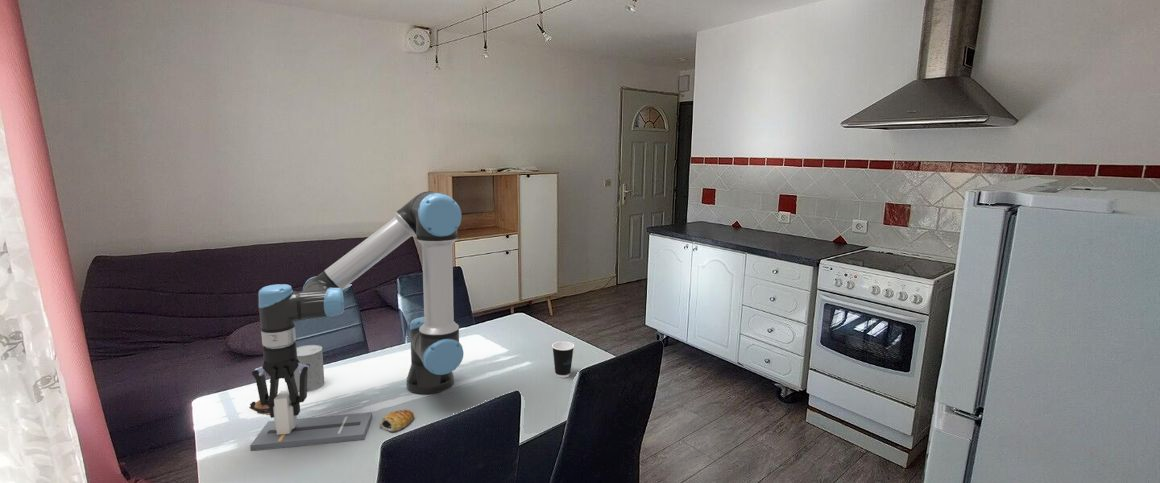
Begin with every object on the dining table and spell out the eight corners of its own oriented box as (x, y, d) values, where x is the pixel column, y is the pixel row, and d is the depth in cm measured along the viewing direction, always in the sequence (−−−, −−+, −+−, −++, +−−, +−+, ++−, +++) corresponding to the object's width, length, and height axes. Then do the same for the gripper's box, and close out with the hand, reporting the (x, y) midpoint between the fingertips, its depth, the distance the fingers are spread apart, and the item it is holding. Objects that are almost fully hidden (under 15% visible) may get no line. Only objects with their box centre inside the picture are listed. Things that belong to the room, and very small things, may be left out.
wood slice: (294, 406, 149) (293, 394, 149) (266, 418, 142) (265, 406, 141) (273, 397, 154) (272, 386, 154) (245, 409, 147) (244, 397, 146)
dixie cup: (554, 369, 178) (555, 340, 176) (576, 371, 176) (576, 342, 175) (548, 378, 170) (549, 348, 169) (571, 380, 169) (571, 350, 167)
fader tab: (295, 423, 135) (293, 389, 133) (289, 433, 130) (286, 398, 128) (283, 424, 134) (280, 390, 133) (277, 434, 129) (273, 399, 128)
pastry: (403, 413, 145) (402, 401, 145) (420, 419, 142) (419, 407, 142) (377, 428, 137) (376, 416, 136) (394, 435, 134) (394, 422, 133)
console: (372, 416, 143) (371, 411, 142) (363, 439, 131) (363, 433, 131) (268, 426, 137) (268, 420, 136) (250, 450, 125) (250, 445, 125)
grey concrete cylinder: (310, 393, 156) (307, 357, 154) (284, 390, 158) (281, 354, 156) (331, 381, 165) (329, 346, 163) (306, 378, 167) (304, 343, 165)
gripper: (238, 351, 123) (246, 437, 127) (308, 347, 126) (315, 431, 130) (251, 340, 130) (258, 422, 134) (317, 337, 134) (322, 416, 137)
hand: (286, 426), depth 132 cm, fingers closed on fader tab, 3 cm apart
